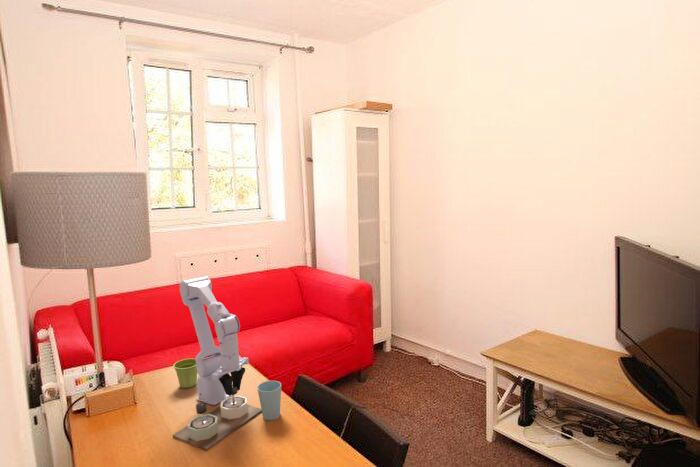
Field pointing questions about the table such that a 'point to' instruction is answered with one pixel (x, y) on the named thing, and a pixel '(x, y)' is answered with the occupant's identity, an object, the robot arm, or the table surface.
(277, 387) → the cup
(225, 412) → the housing
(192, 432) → the housing
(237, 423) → the board
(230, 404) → the plunger
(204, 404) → the plunger
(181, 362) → the plant pot
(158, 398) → the table surface
